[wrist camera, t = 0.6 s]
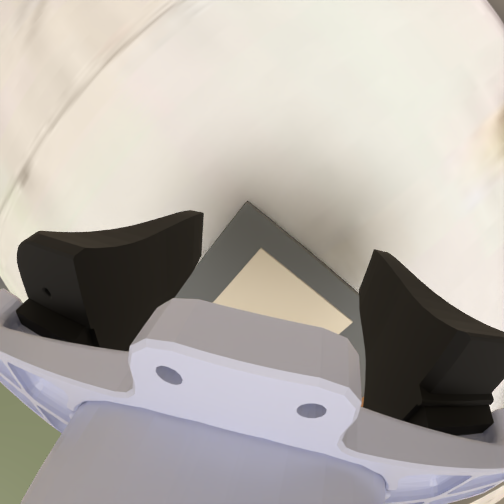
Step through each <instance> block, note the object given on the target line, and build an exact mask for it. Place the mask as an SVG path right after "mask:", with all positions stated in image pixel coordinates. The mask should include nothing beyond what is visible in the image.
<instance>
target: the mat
mask: <svg viewBox="0 0 504 504" xmlns="http://www.w3.org/2000/svg"><path fill="white" fill-rule="evenodd" d="M260 248H263V249H264V250H265V251H266V252H268V253H269V254H270V255H271V256H273V257H274V258H275V259H276V260H278V261H279V262H280V263H281V264H283V265H284V266H285V267H286V268H288V269H289V270H290V271H291V272H292V273H294V274H295V275H296V276H297V277H299V278H300V279H301V280H302V281H304V282H305V283H306V284H307V285H309V286H310V287H311V288H312V289H314V290H315V291H316V292H317V293H319V294H320V295H321V296H322V297H324V298H325V299H326V300H327V301H328V302H330V303H331V304H332V305H333V306H335V307H336V308H337V309H338V310H340V311H341V312H342V313H343V314H344V315H346V316H347V317H348V318H349V319H351V320H352V321H353V323H351V324H350V325H349V326H348V327H347V328H346V329H344V330H343V331H342V332H341V333H340V334H339V335H341V336H343V337H346V338H348V340H349V341H350V343H351V344H352V345H353V347H354V348H355V350H356V351H357V353H358V354H359V362H360V377H361V397H362V398H363V397H364V391H365V370H366V358H365V347H364V339H363V332H362V325H361V318H360V311H359V293H357V292H356V291H355V290H354V289H353V288H352V287H351V286H349V285H348V284H347V283H346V282H345V281H344V280H342V279H341V278H340V277H339V276H338V275H337V274H335V273H334V272H333V271H332V270H331V269H330V268H328V267H327V266H326V265H325V264H324V263H323V262H321V261H320V260H319V259H318V258H317V257H315V256H314V255H313V254H312V253H311V252H309V251H308V250H307V249H306V248H305V247H303V246H302V245H301V244H300V243H299V242H297V241H296V240H295V239H294V238H293V237H291V236H290V235H289V234H288V233H287V232H285V231H284V230H283V229H282V228H280V227H279V226H278V225H277V224H276V223H274V222H273V221H272V220H271V219H269V218H268V217H267V216H266V215H264V214H263V213H262V212H261V211H259V210H258V209H257V208H256V207H254V206H253V205H252V204H251V203H249V202H248V201H247V202H246V203H245V204H244V206H243V207H242V208H241V209H240V211H239V212H238V213H237V214H236V216H235V217H234V218H233V219H232V221H231V222H230V223H229V225H228V226H227V227H226V228H225V230H224V231H223V232H222V234H221V235H220V236H219V237H218V239H217V240H216V241H215V243H214V244H213V245H212V246H211V248H210V249H209V250H208V252H207V253H206V254H205V256H204V257H203V258H202V260H201V261H200V262H199V263H198V265H197V266H196V267H195V269H194V271H193V273H192V274H191V275H190V277H189V278H188V280H187V281H186V282H185V284H184V285H183V287H182V288H181V289H180V291H179V292H178V294H177V295H176V296H175V298H183V299H200V300H204V301H208V302H212V303H213V302H214V301H215V300H216V298H217V297H218V296H219V295H220V294H221V293H222V292H223V290H224V289H225V288H226V287H227V286H228V285H229V284H230V282H231V281H232V280H233V279H234V278H235V277H236V276H237V274H238V273H239V272H240V271H241V270H242V269H243V268H244V266H245V265H246V264H247V263H248V262H249V261H250V260H251V258H252V257H253V256H254V255H255V254H256V253H257V252H258V250H259V249H260Z"/></svg>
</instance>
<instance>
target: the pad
mask: <svg viewBox="0 0 504 504" xmlns="http://www.w3.org/2000/svg"><path fill="white" fill-rule="evenodd" d="M213 303H215V304H219V305H223V306H227V307H231V308H235V309H240V310H244V311H248V312H252V313H256V314H261V315H265V316H270V317H274V318H279V319H283V320H288V321H292V322H297V323H302V324H307V325H312V326H317V327H322V328H325V329H327V330H329V331H332V332H334V333H336V334H340V333H341V332H342V331H343V330H344V329H346V328H347V327H348V326H349V325H350V324H351V323H353V321H352V320H351V319H349V318H348V317H347V316H346V315H344V314H343V313H342V312H341V311H340V310H338V309H337V308H336V307H335V306H333V305H332V304H331V303H330V302H328V301H327V300H326V299H325V298H324V297H322V296H321V295H320V294H319V293H317V292H316V291H315V290H314V289H312V288H311V287H310V286H309V285H307V284H306V283H305V282H304V281H302V280H301V279H300V278H299V277H297V276H296V275H295V274H294V273H292V272H291V271H290V270H289V269H288V268H286V267H285V266H284V265H283V264H281V263H280V262H279V261H278V260H276V259H275V258H274V257H273V256H271V255H270V254H269V253H268V252H266V251H265V250H264V249H263V248H260V249H259V250H258V252H257V253H256V254H255V255H254V256H253V257H252V258H251V260H250V261H249V262H248V263H247V264H246V265H245V266H244V268H243V269H242V270H241V271H240V272H239V273H238V274H237V276H236V277H235V278H234V279H233V280H232V281H231V282H230V284H229V285H228V286H227V287H226V288H225V289H224V290H223V292H222V293H221V294H220V295H219V296H218V297H217V298H216V300H215V301H214V302H213Z"/></svg>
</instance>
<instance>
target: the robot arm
mask: <svg viewBox="0 0 504 504" xmlns="http://www.w3.org/2000/svg"><path fill="white" fill-rule="evenodd" d="M203 215H204V213H202V212H196V211H191V210H189V211H183V212H179V213H175V214H172V215H168V216H165V217H162V218H158V219H155V220H151V221H148V222H144V223H140V224H137V225H132V226H128V227H123V228H117V229H111V230H102V231H93V232H50V231H38V232H36V233H35V234H33V235H32V236H30V237H29V238H27V239H26V240H24V241H23V242H21V244H20V245H19V247H18V251H17V263H18V268H19V272H20V275H21V278H22V281H23V284H24V287H25V290H26V293H27V296H28V298H29V299H28V300H26V301H25V302H24V303H22V301H21V300H20V299H19V298H18V297H17V296H15V295H13V294H12V293H10V292H9V291H7V290H5V289H1V290H0V382H1V383H2V384H3V385H4V386H5V387H6V388H8V389H9V390H10V391H11V392H12V393H13V394H14V395H15V396H16V397H18V398H19V399H20V400H21V401H22V402H23V403H24V404H25V405H27V406H28V407H29V408H30V409H32V410H33V411H34V412H35V413H36V414H37V415H39V416H40V417H41V418H42V419H44V420H45V421H46V422H47V423H49V424H50V425H51V426H53V427H54V428H55V429H57V430H58V431H59V432H61V433H62V434H61V436H60V437H59V439H58V440H57V442H56V443H55V445H54V447H53V448H52V450H51V452H50V453H49V455H48V456H47V458H46V460H45V461H44V463H43V465H42V466H41V468H40V470H39V471H38V473H37V475H36V477H35V478H34V480H33V482H32V483H31V485H30V487H29V489H28V491H27V492H26V494H25V496H24V498H23V499H22V501H21V503H20V504H447V503H452V502H455V501H459V500H462V499H466V498H469V497H473V496H476V495H479V494H482V493H484V492H486V491H488V490H490V489H491V488H493V487H495V486H497V485H498V484H500V483H501V482H503V481H504V408H500V409H497V410H495V411H493V412H491V410H490V407H489V405H491V404H492V403H493V400H494V399H493V396H492V392H493V391H494V389H495V388H496V387H497V386H498V385H499V384H500V383H501V382H502V380H503V379H504V332H503V331H500V330H498V329H495V328H493V327H490V326H488V325H486V324H484V323H482V322H480V321H478V320H476V319H474V318H472V317H470V316H468V315H467V314H465V313H463V312H462V311H460V310H459V309H457V308H455V307H454V306H452V305H451V304H449V303H448V302H446V301H445V300H444V299H442V298H441V297H440V296H438V295H437V294H436V293H434V292H433V291H432V290H431V289H429V288H428V287H427V286H426V285H425V284H424V283H422V282H421V281H420V280H419V279H418V278H417V277H416V276H415V275H414V274H412V273H411V272H410V271H409V270H408V269H407V268H406V267H405V266H404V265H403V264H402V263H400V262H399V261H398V260H397V259H396V258H395V257H393V256H392V255H391V254H389V253H388V252H383V251H379V250H375V249H374V251H373V254H372V257H371V260H370V263H369V265H368V268H367V271H366V273H365V276H364V279H363V281H362V284H361V287H360V289H359V311H360V318H361V325H362V332H363V339H364V347H365V358H366V370H365V391H364V402H363V407H361V404H362V397H361V377H360V362H359V354H358V353H357V351H356V350H355V348H354V347H353V345H352V344H351V343H350V341H349V340H348V338H346V337H343V336H341V335H339V334H336V333H334V332H332V331H329V330H327V329H325V328H322V327H317V326H312V325H307V324H302V323H297V322H292V321H288V320H283V319H279V318H274V317H270V316H265V315H261V314H256V313H252V312H248V311H244V310H240V309H235V308H231V307H227V306H223V305H219V304H215V303H212V302H208V301H204V300H200V299H183V298H175V296H176V295H177V294H178V292H179V291H180V289H181V288H182V287H183V285H184V284H185V282H186V281H187V280H188V278H189V277H190V275H191V274H192V273H193V271H194V269H195V267H196V265H197V263H198V261H199V259H200V257H201V250H202V231H203Z"/></svg>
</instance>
